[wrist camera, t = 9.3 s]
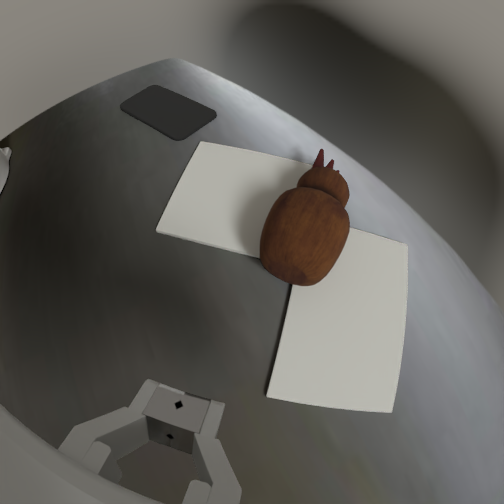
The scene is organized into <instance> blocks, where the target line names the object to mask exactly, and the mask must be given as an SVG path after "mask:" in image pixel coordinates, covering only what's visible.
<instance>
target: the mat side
mask: <svg viewBox="0 0 504 504" xmlns="http://www.w3.org/2000/svg"><path fill="white" fill-rule="evenodd" d="M312 166H313V165H310V164H307V163H303V162H299V161H295V160H291V159H287V158H283V157H278V156H274V155H270V154H265V153H260V152H256V151H251V150H246V149H241V148H236V147H231V146H225V145H220V144H214V143H208V142H200V143H199V145H198V147H197V149H196V151H195V152H194V154H193V156H192V158H191V160H190V161H189V163H188V165H187V167H186V169H185V171H184V173H183V175H182V177H181V179H180V180H179V182H178V184H177V186H176V188H175V190H174V192H173V194H172V196H171V198H170V200H169V202H168V205H167V207H166V209H165V211H164V213H163V215H162V217H161V219H160V221H159V224H158V226H157V228H156V232H158V233H162V234H166V235H170V236H174V237H178V238H182V239H185V240H189V241H193V242H197V243H201V244H205V245H209V246H213V247H217V248H221V249H225V250H228V251H232V252H236V253H240V254H244V255H248V256H252V257H256V258H260V257H259V256H260V238H261V234H262V229H263V226H264V223H265V220H266V218H267V216H268V213H269V211H270V209H271V207H272V206H273V204H274V202H275V201H276V200H277V199H278V197H279V196H280V195H281V194H282V193H284V192H285V191H286V190H290V189H293V188H297V183H298V180H299V179H300V177H301V176H302V175H303V174H304V173H305V172H307V171H308V170H309V169H311V168H312Z"/></svg>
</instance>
